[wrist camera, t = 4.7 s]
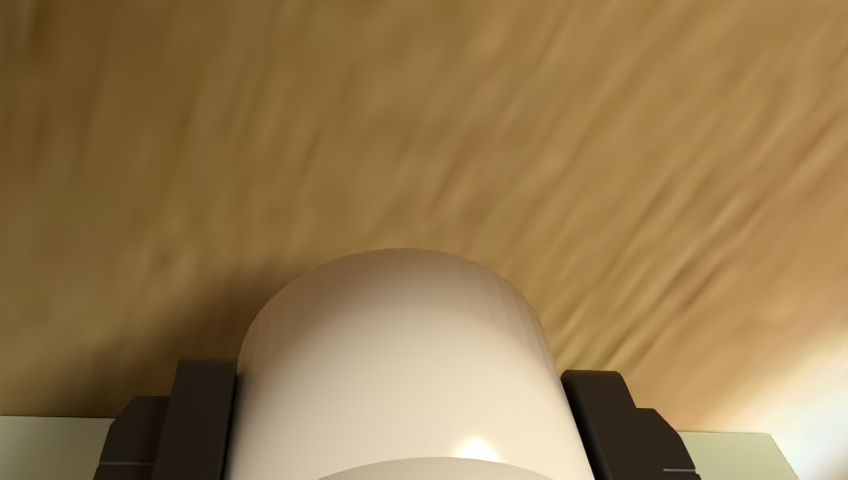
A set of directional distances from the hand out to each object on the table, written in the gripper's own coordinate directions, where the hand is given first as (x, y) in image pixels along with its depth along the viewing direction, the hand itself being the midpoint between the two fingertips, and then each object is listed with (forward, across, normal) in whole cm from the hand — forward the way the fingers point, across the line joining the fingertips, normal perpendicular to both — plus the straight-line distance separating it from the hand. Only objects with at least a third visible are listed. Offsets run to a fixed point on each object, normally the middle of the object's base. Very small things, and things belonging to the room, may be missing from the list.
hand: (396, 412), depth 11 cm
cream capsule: (+1, 0, 0) cm, 1 cm away
